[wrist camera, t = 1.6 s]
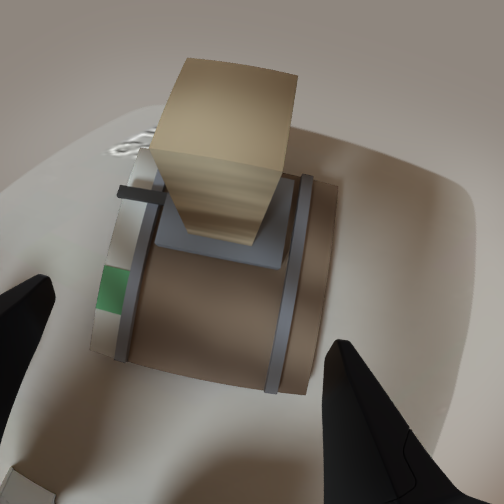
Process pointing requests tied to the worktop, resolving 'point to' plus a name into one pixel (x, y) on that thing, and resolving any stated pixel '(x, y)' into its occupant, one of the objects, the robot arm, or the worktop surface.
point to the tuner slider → (224, 163)
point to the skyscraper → (23, 491)
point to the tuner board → (216, 296)
